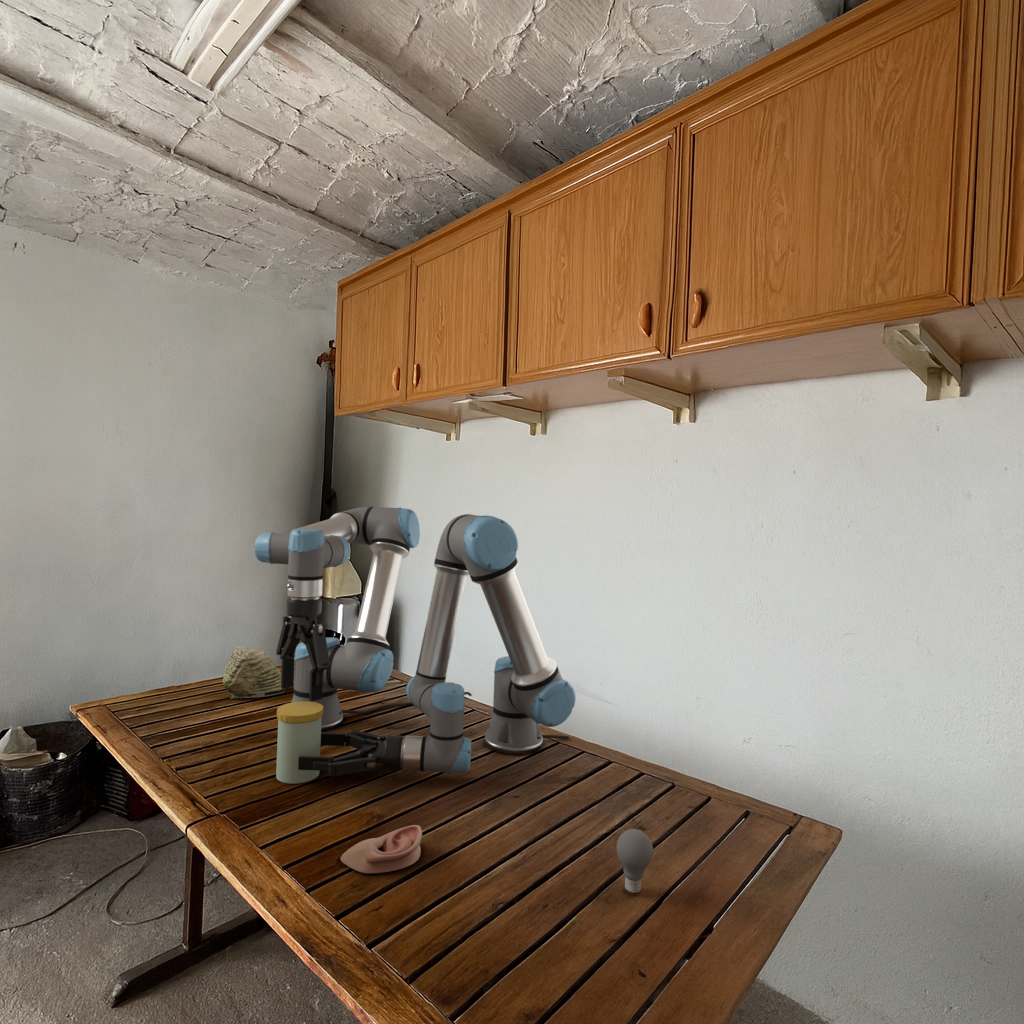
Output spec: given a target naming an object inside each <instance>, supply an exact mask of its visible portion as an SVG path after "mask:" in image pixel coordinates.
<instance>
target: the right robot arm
mask: <svg viewBox="0 0 1024 1024" xmlns="http://www.w3.org/2000/svg"><path fill="white" fill-rule="evenodd" d="M518 550H519V540H518V537H517V534H516V532H515V530H514V528H513V526H511V525H510V524H509V523H508V522H507V521H505V520H504V519H502V518H498V517H496V516H493V515H478V514H477V515H476V514H469V513H465V514H460V515H457V516H455V517H453V518H452V519H451V520H450V521H449V522H448V523H447V524H446V525H445V527H444V528H443V531H442V533H441V535H440V539H439V541H438V544H437V549H436V553H435V558H434V563H433V566H434V568H435V569H436V573H435V578H434V583H433V588H432V592H431V599H430V603H429V608H428V612H427V617H426V622H425V627H424V631H423V636H422V642H421V646H420V651H419V656H418V659H417V665H416V671H415V675H414V676H413V677H411V678H410V680H409V681H408V682H407V684H406V686H405V687H406V688H405V693H406V696H407V698H408V700H409V702H411V703H412V704H413V705H412V706H413V707H415V708H416V709H418V710H420V712H422V713H423V714H424V715H425V716H426V717H427V718H428V719H429V723H430V724H429V727H430V728H429V736H427V735H406V736H405V737H404V736H403V735H398V734H397V735H393V734H390V735H389V734H388V735H387V736H386V735H379V734H378V735H377V734H373V733H370V732H365V731H361V730H357V729H350V732H349V731H348V732H346V733H343V732H342V733H341V732H321V744H320V746H326V747H327V746H329V747H330V746H331V747H334V746H335V747H345V748H348V747H351V748H355V749H356V750H357V751H356V752H353V753H349V754H346V755H341V756H338V757H333V756H332V755H329V756H320V757H318V756H299V761H298V770H319V772H320V771H323V772H328V773H329V774H328V776H329V777H339V776H343V775H350V774H355V773H361V772H374V771H376V770H377V765H379V764H382V768H383V770H384V771H385V772H399V771H401V770H402V771H404V772H412V773H413V774H416V773H418V772H421V773H442V774H443V773H444V774H445V773H447V774H462V773H463V774H464V773H467V772H469V770H470V768H471V761H472V739H471V738H470V737H466V736H464V719H465V706H466V699H465V695H464V692H465V688H464V687H463V686H462V684H459V683H456V682H450V681H446V680H447V673H448V670H449V664H450V659H451V654H452V651H453V650H452V649H453V645H454V641H455V635H456V632H457V631H456V630H457V625H458V623H459V622H458V621H459V616H460V611H461V607H462V603H463V597H464V592H465V588H466V583H467V578H468V576H469V578H470V580H471V582H472V583H474V584H477V585H480V587H481V590H482V592H483V595H484V598H485V600H486V602H487V605H488V608H489V611H490V613H491V615H492V618H493V620H494V622H495V625H496V627H497V631H498V632H499V635H500V638H501V640H502V643H503V645H504V648H505V651H506V653H507V656H501V657H499V658H498V659H496V661H495V664H494V670H493V674H494V677H493V679H494V680H493V701H492V702H493V703H492V704H493V705H492V707H493V708H492V715H491V718H490V720H489V723H488V725H487V729H486V731H485V734H484V744H485V746H486V747H487V748H488V749H490V750H491V751H494V752H496V753H500V754H505V755H514V756H516V755H528V754H533V753H535V752H538V751H539V750H541V749H542V747H543V740H544V739H561V740H569V738H570V737H569V735H559V734H558V735H557V734H543V733H542V730H541V726H540V725H542V726H543V727H547V728H553V727H558V726H560V725H561V724H563V723H564V722H565V721H566V720H568V719H569V717H570V716H571V714H572V712H573V709H574V707H575V706H576V698H577V697H576V696H577V695H576V692H575V688H574V687H573V685H572V684H571V683H570V682H569V681H568V680H566V679H563V677H562V675H561V672H560V670H559V667H558V664H557V661H556V660H555V659H554V658H551V657H548V656H547V653H546V650H545V648H544V645H543V643H542V640H541V637H540V634H539V632H538V629H537V626H536V625H535V621H534V618H533V616H532V614H531V611H530V609H529V606H528V604H527V603H528V602H527V601H526V598H525V595H524V593H523V590H522V587H521V585H520V583H519V579H518V576H517V575H516V570H517V567H518V565H519V562H518V559H517V551H518ZM486 724H487V720H485V721H484V726H486Z"/></svg>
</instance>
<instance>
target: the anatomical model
mask: <svg viewBox="0 0 1024 1024" xmlns="http://www.w3.org/2000/svg"><path fill="white" fill-rule="evenodd" d="M422 839H423V830H422V827H421V826H420V825H418V824H412V825H407V826H403V827H400V828H397V829H395V830H392V831H390V832H388V833H386V834H383V835H380V836H379V837H373V838H367V839H364V840H361V841H359V842H357V843H356V844H354V845H352V846H351V847H350V848H348V849H347V850H345V851H344V852H343V853H342V855H341V856H340V861H341V862H342V864H344V865H346V867H348V868H350V869H352V870H354V871H357V872H359V873H362V874H381V873H388V872H393V871H398V870H402V869H405V868H407V867H409V866H411V865H414V864H415V863H416V862H417V861H418V860H419V859H420V857H421V853H422V850H421V842H422Z"/></svg>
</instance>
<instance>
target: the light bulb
mask: <svg viewBox="0 0 1024 1024" xmlns="http://www.w3.org/2000/svg"><path fill="white" fill-rule="evenodd" d="M615 849H616V854H617V857H618V859H619V861H620V863H621V865H622V867H623V873H624V874H623V875H624V876H625V878H624V888H625V890H627V891H628V892H630V893H634V894H635V893H639V892H640V891H641V889H642V887H641V886H642V879H643V877H644V875H645V871H646V868H647V867H648V866H649V864H650V863H651V861H652V859H653V855H654V847H653V843H652V841H651V838H649V836H648V835H647V834H646V833H645V832H643V831H642V830H641V829H636V828H629V829H627V830H625V831H623V832H622V833H621V834H620V835H619V837H618V839H617V841H616V847H615Z"/></svg>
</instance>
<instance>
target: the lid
mask: <svg viewBox="0 0 1024 1024" xmlns="http://www.w3.org/2000/svg"><path fill="white" fill-rule="evenodd" d="M291 702H292V701H291ZM291 702H288V703H285V704H284V703H283V704H282V705H280V706H279V707H277V709H276V718H277V720H278V719H279V720H281V721H284V722H289V723H302V722H309V721H313V720H316V719H318V718H320V717H322V715H323V713H324V709H323V706H322V705H321V704H319V703H316V702H308V701H301V702H292V703H291Z"/></svg>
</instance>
